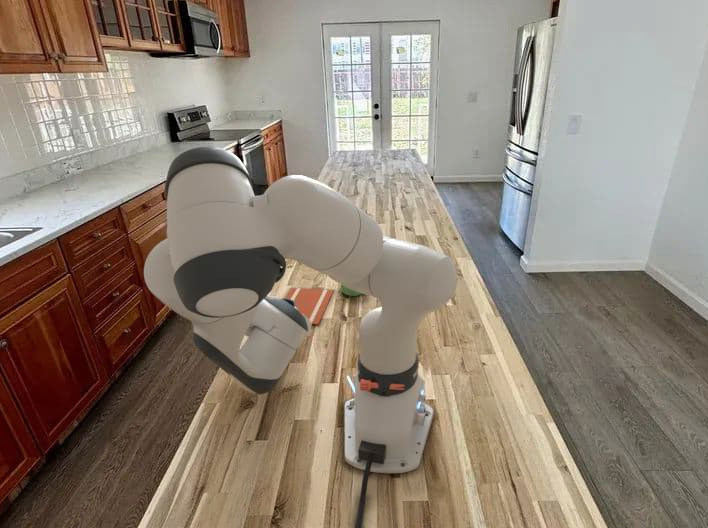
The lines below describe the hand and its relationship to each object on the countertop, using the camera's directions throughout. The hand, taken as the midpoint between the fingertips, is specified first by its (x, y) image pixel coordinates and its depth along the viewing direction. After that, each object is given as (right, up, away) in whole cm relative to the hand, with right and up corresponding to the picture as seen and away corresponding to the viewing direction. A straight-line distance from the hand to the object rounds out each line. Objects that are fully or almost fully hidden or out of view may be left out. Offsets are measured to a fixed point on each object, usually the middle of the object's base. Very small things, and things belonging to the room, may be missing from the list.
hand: (277, 331), depth 111 cm
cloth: (+3, +5, +21) cm, 22 cm away
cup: (+1, -3, +6) cm, 7 cm away
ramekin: (+18, +9, +29) cm, 36 cm away
